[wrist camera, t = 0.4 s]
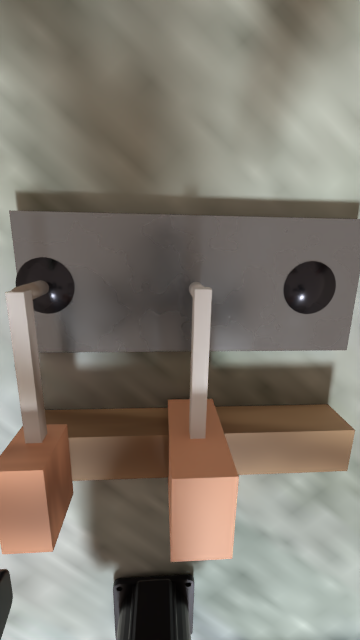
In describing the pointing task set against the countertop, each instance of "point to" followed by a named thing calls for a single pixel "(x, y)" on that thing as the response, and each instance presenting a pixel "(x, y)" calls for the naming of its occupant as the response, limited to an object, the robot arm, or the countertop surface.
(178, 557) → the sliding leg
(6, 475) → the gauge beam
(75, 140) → the countertop surface
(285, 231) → the flange plate
